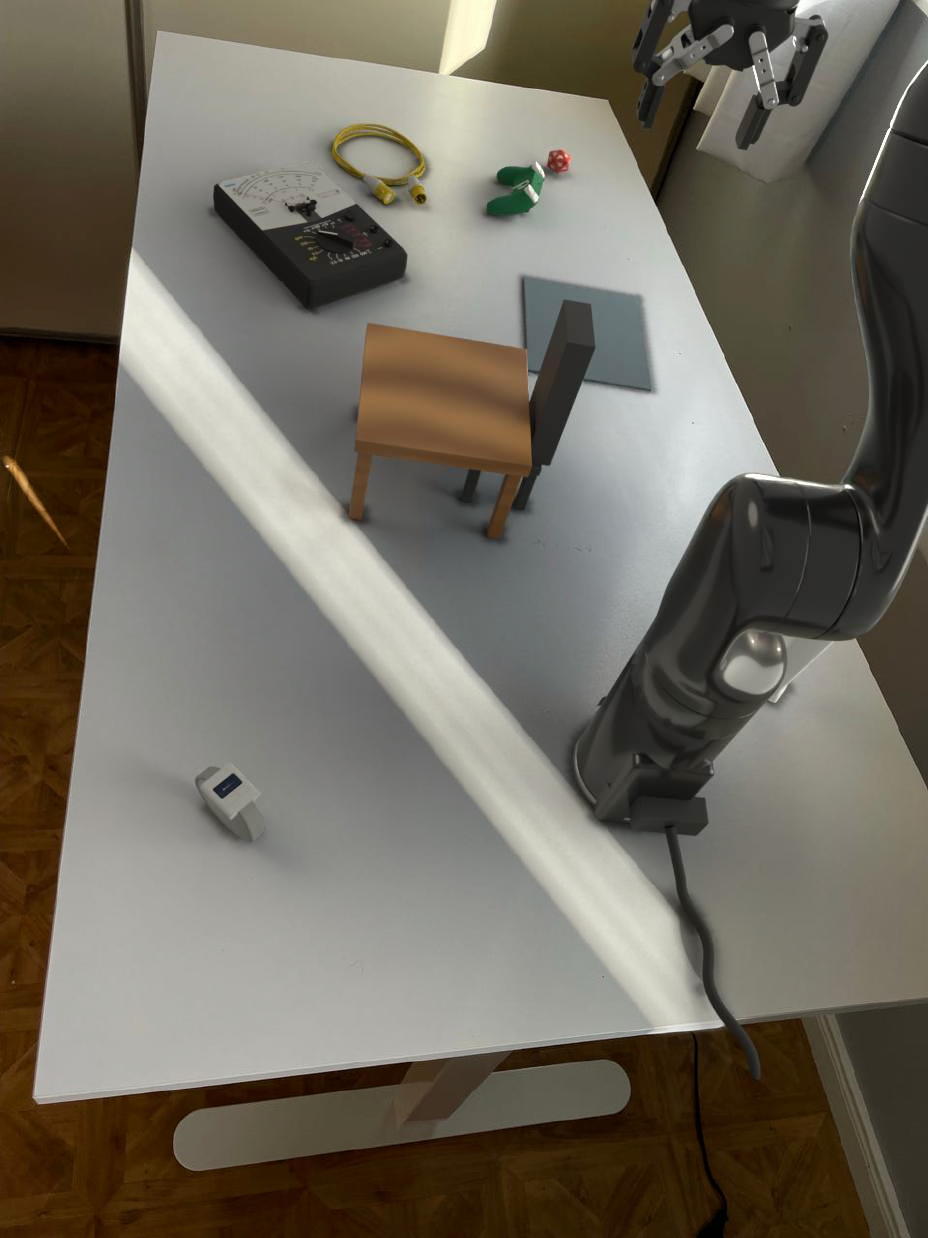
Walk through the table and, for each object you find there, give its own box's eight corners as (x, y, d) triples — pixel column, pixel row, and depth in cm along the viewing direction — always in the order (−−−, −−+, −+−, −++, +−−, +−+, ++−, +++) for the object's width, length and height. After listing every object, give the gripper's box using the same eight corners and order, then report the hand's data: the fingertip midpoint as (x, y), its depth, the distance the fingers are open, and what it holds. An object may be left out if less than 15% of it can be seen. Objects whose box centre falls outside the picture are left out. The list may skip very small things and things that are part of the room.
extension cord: (323, 194, 118) (324, 178, 117) (337, 124, 128) (338, 108, 126) (424, 214, 120) (426, 199, 119) (430, 143, 129) (433, 129, 128)
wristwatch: (273, 834, 73) (276, 806, 69) (243, 859, 71) (245, 832, 67) (216, 777, 75) (216, 746, 70) (187, 801, 73) (185, 770, 69)
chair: (531, 463, 100) (591, 299, 84) (533, 512, 96) (596, 351, 80) (460, 453, 99) (506, 284, 83) (459, 502, 95) (508, 336, 79)
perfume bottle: (754, 710, 88) (839, 613, 76) (734, 667, 90) (813, 567, 78) (798, 703, 89) (888, 607, 77) (777, 661, 92) (861, 562, 79)
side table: (503, 542, 93) (532, 465, 85) (343, 521, 91) (355, 439, 82) (501, 428, 102) (527, 348, 93) (355, 406, 99) (367, 322, 91)
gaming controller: (498, 233, 124) (539, 213, 121) (482, 207, 122) (524, 186, 119) (510, 194, 129) (550, 174, 126) (495, 168, 127) (536, 147, 124)
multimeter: (308, 313, 106) (311, 273, 102) (211, 211, 113) (211, 170, 108) (405, 280, 112) (412, 241, 108) (308, 185, 119) (311, 145, 115)
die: (541, 164, 132) (547, 142, 129) (563, 165, 133) (569, 143, 130) (548, 177, 130) (554, 156, 128) (569, 178, 131) (576, 157, 129)
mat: (651, 390, 110) (651, 389, 110) (527, 370, 108) (528, 369, 108) (637, 298, 119) (638, 297, 119) (523, 278, 117) (524, 276, 117)
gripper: (691, -84, 68) (615, 142, 81) (883, -37, 70) (779, 175, 83) (678, -127, 72) (608, 94, 85) (859, -82, 74) (764, 127, 87)
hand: (693, 134), depth 84 cm, fingers open, 8 cm apart
